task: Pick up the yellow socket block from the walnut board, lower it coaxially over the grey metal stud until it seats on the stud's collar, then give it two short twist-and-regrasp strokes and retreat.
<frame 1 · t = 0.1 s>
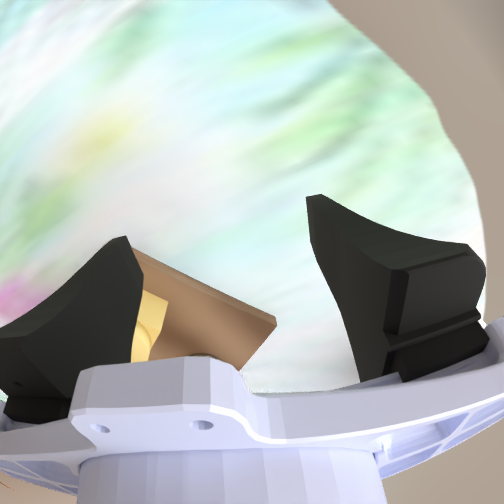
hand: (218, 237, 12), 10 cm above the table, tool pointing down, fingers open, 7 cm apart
board: (171, 332, 27), on the table
yellow socket block: (132, 309, 25), point 1 cm above the table, touching board
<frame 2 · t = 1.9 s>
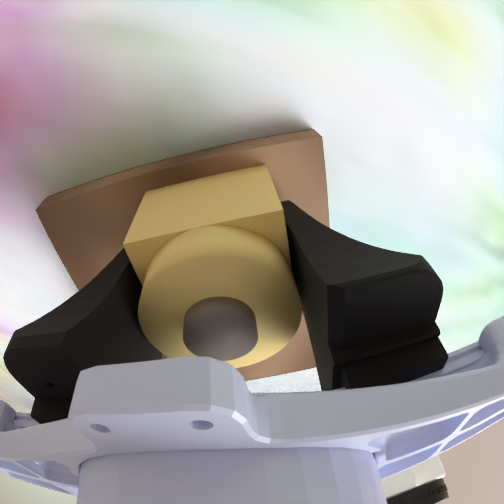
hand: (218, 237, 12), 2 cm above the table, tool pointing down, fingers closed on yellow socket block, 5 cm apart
board: (208, 289, 16), on the table
yellow socket block: (218, 229, 13), point 1 cm above the table, touching board, gripper
jar: (382, 420, 30), on the table
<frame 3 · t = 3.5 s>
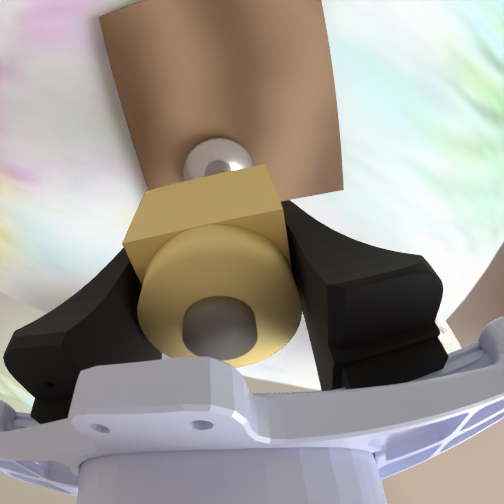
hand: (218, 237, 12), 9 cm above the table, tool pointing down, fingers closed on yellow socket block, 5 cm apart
board: (229, 95, 17), on the table
yellow socket block: (218, 229, 13), point 8 cm above the table, touching gripper
jar: (396, 323, 31), on the table
stud: (218, 161, 20), resting on board
when the fingers open (4 cm above the table, at t = 5.1 s): yellow socket block drops 1 cm, resting on stud.
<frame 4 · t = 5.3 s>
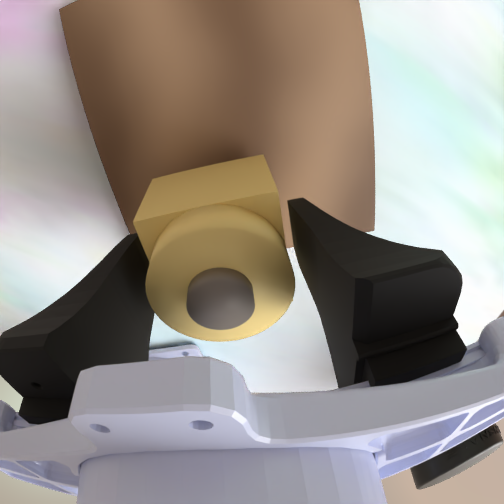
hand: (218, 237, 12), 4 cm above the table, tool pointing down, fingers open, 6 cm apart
board: (232, 109, 13), on the table
yellow socket block: (219, 214, 14), point 2 cm above the table, touching stud
jar: (415, 360, 27), on the table
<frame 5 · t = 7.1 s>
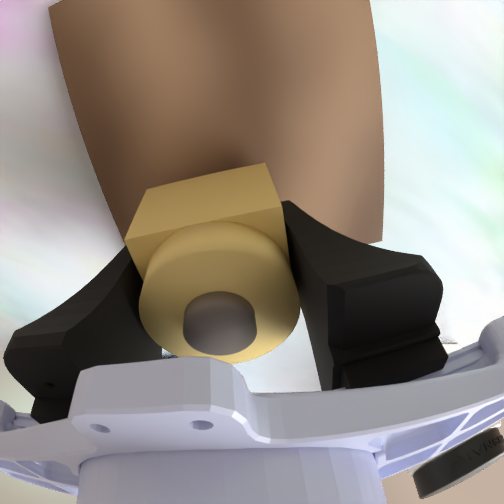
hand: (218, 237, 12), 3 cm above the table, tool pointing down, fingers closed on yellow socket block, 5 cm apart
board: (232, 113, 12), on the table
yellow socket block: (218, 226, 13), point 2 cm above the table, touching gripper, stud
jar: (419, 368, 26), on the table
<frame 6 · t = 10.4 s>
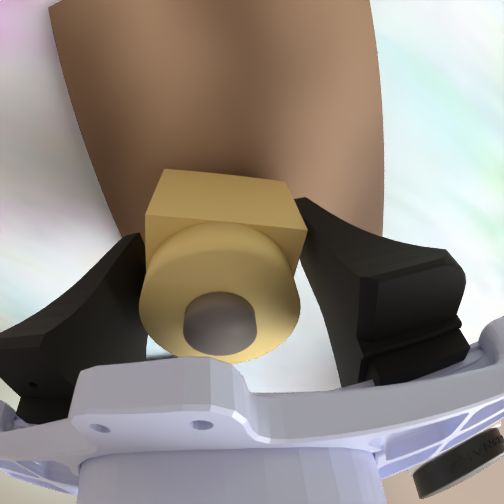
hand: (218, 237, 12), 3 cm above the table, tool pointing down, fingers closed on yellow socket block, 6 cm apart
board: (232, 113, 12), on the table
yellow socket block: (218, 227, 13), point 2 cm above the table, touching gripper, stud
jar: (419, 368, 26), on the table
when the fingers open (3 cm above the table, at t = 11.9 s): yellow socket block stays where it is, resting on stud.
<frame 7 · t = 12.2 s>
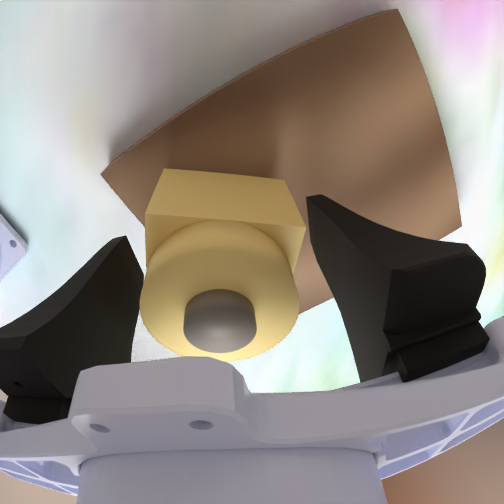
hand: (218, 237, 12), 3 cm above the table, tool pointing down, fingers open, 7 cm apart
board: (309, 186, 15), on the table
yellow socket block: (218, 225, 13), point 2 cm above the table, touching stud
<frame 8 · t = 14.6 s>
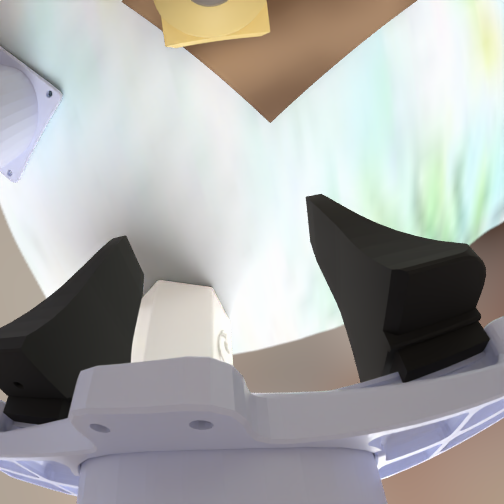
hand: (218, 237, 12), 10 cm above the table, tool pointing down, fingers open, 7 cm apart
yellow socket block: (213, 3, 13), point 2 cm above the table, touching stud
jar: (181, 313, 29), on the table
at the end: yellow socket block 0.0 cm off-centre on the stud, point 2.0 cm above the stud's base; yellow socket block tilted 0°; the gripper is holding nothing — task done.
